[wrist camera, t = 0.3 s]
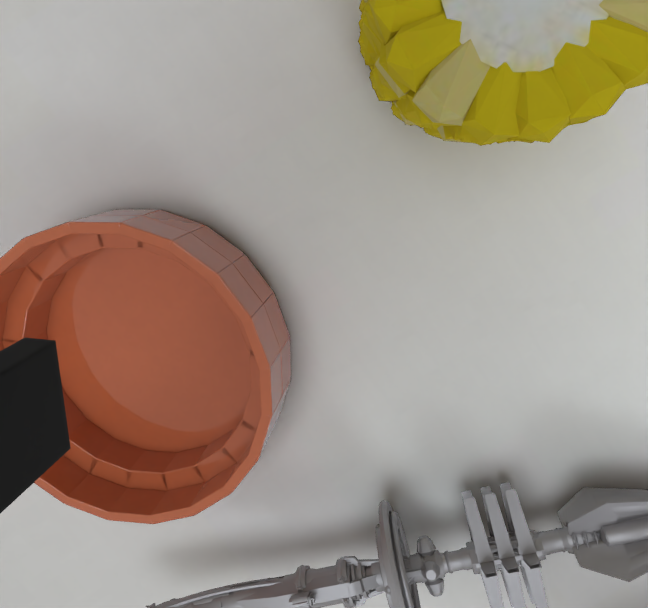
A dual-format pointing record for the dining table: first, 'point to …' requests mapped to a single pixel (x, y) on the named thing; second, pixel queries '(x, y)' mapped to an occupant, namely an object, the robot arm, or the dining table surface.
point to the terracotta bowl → (150, 359)
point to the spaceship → (462, 556)
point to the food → (503, 63)
